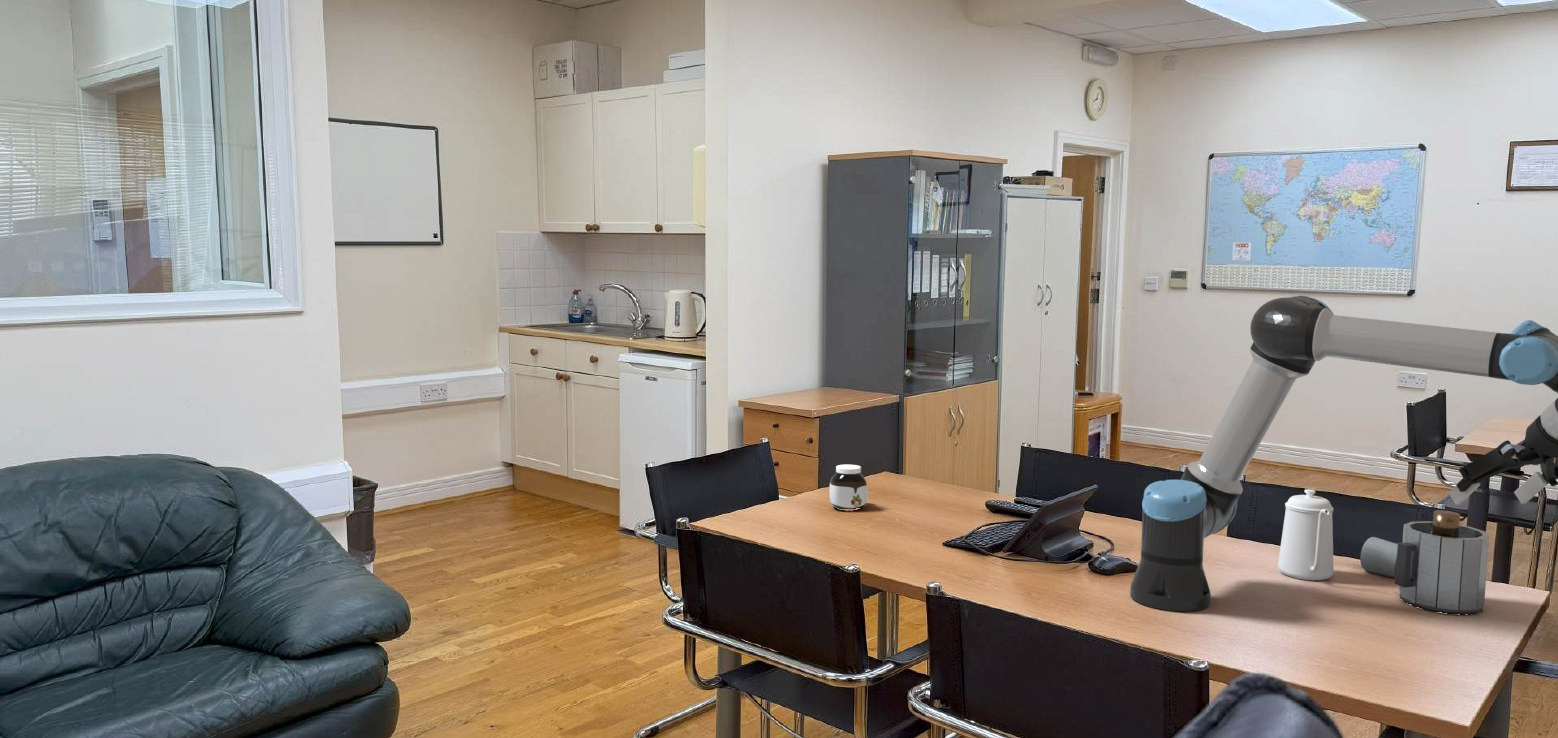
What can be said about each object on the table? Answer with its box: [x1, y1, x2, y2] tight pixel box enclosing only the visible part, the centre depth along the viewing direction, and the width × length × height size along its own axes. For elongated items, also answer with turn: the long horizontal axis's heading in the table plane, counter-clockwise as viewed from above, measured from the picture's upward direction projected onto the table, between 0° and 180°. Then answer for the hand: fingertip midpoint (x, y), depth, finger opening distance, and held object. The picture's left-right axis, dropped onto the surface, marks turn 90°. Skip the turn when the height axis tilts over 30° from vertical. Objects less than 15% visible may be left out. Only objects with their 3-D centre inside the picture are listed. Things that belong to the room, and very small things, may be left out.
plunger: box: [1432, 509, 1461, 538], centre depth 209 cm, size 10×10×15 cm
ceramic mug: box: [1359, 536, 1398, 579], centre depth 230 cm, size 11×8×8 cm
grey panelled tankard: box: [1394, 520, 1490, 616], centre depth 210 cm, size 16×14×15 cm
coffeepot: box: [1277, 489, 1335, 582], centre depth 228 cm, size 11×25×19 cm, turn 168°
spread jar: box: [828, 463, 869, 509], centre depth 290 cm, size 12×11×12 cm
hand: (1486, 498), depth 197 cm, fingers open, 13 cm apart
